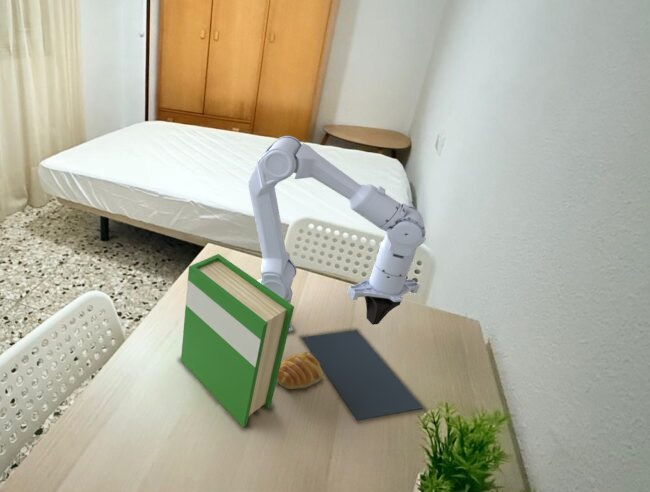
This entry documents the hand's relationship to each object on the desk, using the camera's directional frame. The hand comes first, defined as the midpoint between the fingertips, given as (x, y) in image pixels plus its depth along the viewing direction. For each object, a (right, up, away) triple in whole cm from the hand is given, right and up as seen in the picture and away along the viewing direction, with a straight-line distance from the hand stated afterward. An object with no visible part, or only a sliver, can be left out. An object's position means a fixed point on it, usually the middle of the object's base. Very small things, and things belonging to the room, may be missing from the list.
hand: (372, 321), depth 83 cm
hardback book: (-31, -11, -4) cm, 34 cm away
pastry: (-16, -11, -2) cm, 19 cm away
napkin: (-3, -10, 0) cm, 11 cm away
